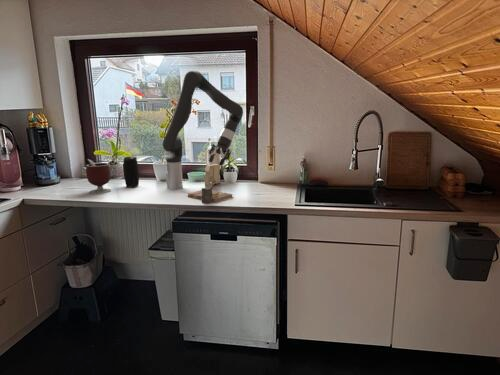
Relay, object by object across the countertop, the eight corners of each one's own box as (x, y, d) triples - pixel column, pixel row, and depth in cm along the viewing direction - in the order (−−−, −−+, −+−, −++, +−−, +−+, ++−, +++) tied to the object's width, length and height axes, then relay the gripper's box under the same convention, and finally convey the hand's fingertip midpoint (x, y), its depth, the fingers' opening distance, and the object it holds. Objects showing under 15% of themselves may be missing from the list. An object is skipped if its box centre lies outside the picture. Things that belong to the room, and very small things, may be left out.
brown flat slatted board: (187, 196, 207) (187, 193, 207) (205, 192, 218) (205, 189, 217) (215, 202, 194) (215, 199, 193) (232, 197, 204) (232, 194, 204)
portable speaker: (125, 185, 240) (123, 156, 236) (140, 184, 242) (138, 156, 238) (124, 188, 232) (121, 158, 228) (139, 187, 234) (137, 157, 230)
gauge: (202, 202, 194) (201, 188, 192) (215, 199, 201) (214, 185, 200) (207, 204, 191) (206, 189, 189) (220, 200, 199) (219, 186, 197)
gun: (209, 190, 224) (209, 166, 222) (204, 189, 225) (203, 166, 223) (220, 185, 248) (220, 163, 246) (215, 185, 249) (215, 163, 247)
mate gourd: (117, 190, 226) (114, 159, 222) (98, 195, 214) (95, 162, 210) (100, 188, 233) (97, 157, 229) (81, 192, 222) (77, 160, 217)
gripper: (213, 133, 208) (202, 158, 207) (231, 137, 199) (219, 164, 198) (221, 138, 214) (210, 163, 213) (238, 142, 205) (227, 168, 204)
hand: (215, 163), depth 205 cm, fingers open, 8 cm apart
